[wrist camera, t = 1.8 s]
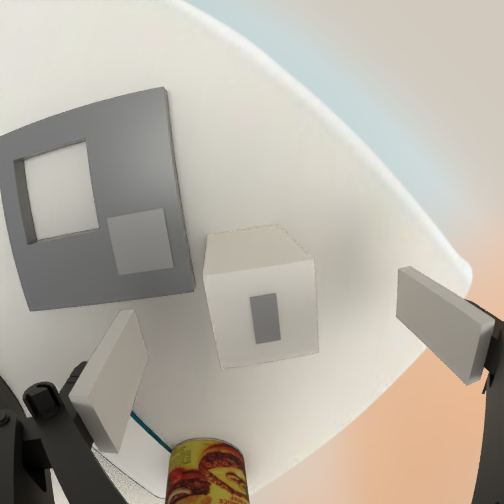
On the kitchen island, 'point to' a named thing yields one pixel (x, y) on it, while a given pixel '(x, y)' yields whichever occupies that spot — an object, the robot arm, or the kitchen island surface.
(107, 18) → the kitchen island surface
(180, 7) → the kitchen island surface
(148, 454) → the smartphone
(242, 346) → the block
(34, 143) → the grey square base plate
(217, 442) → the canned food
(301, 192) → the kitchen island surface
